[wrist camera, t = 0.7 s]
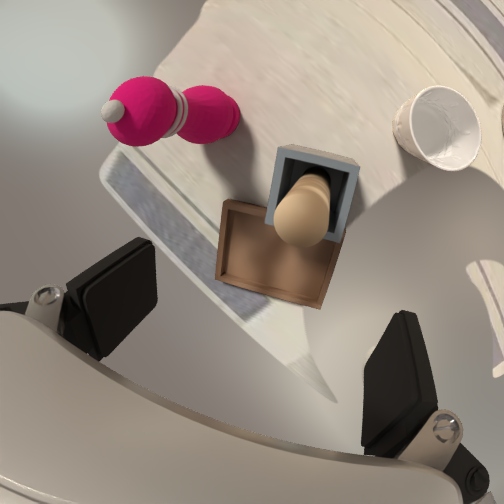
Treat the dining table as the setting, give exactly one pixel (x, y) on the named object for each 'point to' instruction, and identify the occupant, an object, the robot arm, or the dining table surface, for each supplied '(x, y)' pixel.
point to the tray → (271, 258)
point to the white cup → (439, 128)
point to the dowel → (305, 210)
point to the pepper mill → (168, 113)
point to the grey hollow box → (292, 168)
